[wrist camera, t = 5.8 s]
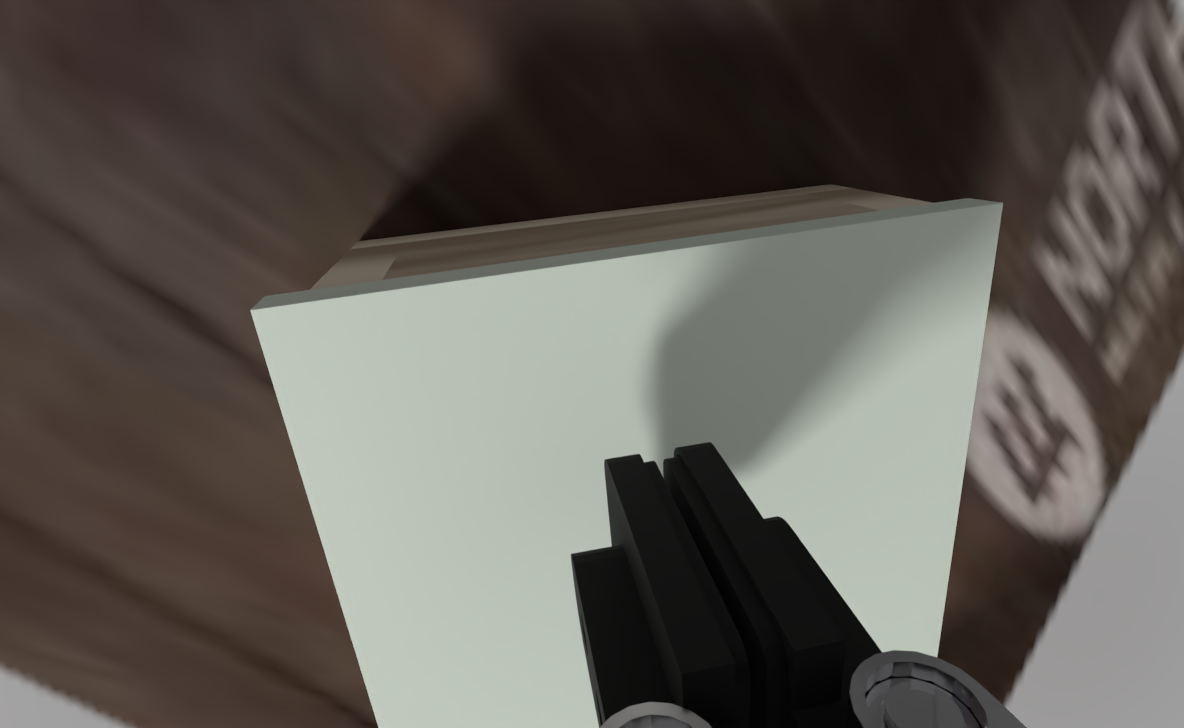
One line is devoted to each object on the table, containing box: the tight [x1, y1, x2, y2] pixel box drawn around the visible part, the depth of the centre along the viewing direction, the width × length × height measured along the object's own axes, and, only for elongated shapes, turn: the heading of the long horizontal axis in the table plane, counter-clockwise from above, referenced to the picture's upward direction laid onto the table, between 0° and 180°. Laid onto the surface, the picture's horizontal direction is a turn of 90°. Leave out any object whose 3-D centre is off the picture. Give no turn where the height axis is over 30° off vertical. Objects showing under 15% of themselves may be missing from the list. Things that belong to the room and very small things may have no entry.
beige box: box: [310, 184, 931, 290], centre depth 17 cm, size 18×13×5 cm
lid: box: [250, 198, 1003, 728], centre depth 14 cm, size 18×12×1 cm
